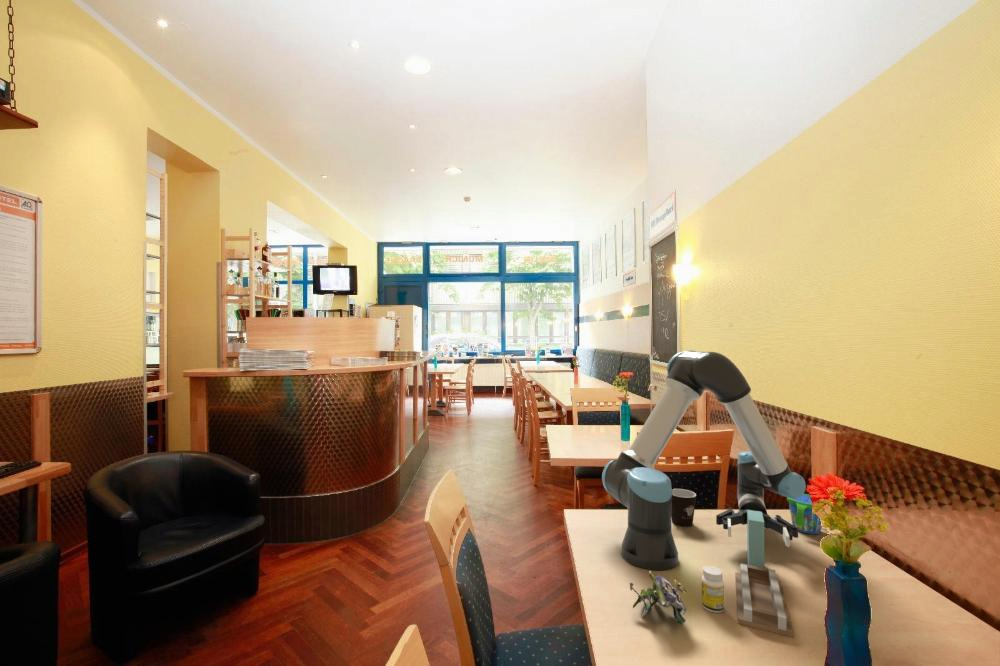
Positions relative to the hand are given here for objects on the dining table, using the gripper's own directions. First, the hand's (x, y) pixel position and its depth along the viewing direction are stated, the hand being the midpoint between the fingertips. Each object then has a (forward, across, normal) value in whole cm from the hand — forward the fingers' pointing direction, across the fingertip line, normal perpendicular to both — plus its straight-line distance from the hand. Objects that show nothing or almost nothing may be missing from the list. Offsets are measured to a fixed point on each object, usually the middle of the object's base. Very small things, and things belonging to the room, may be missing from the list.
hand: (758, 536), depth 121 cm
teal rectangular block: (0, +1, -8) cm, 8 cm away
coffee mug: (-23, +22, -9) cm, 33 cm away
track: (+18, +1, -8) cm, 20 cm away
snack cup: (-35, -16, -9) cm, 40 cm away
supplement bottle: (+25, +11, -9) cm, 29 cm away
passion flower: (+35, +21, -9) cm, 42 cm away
